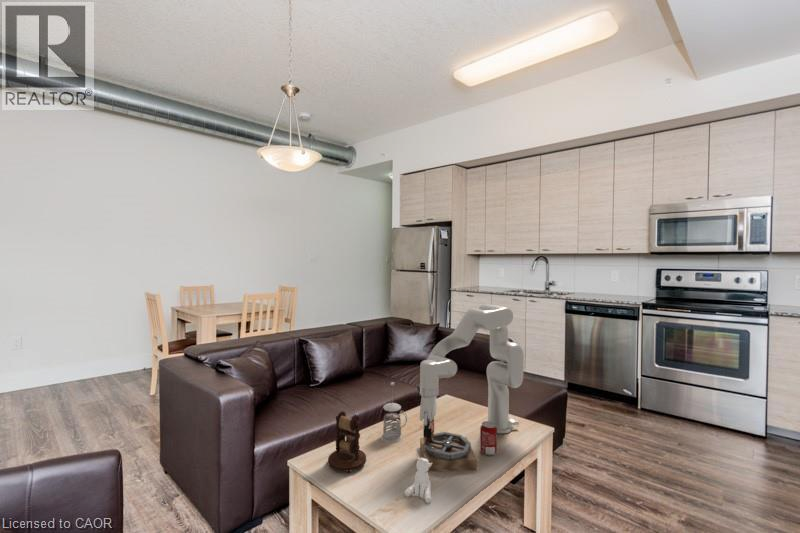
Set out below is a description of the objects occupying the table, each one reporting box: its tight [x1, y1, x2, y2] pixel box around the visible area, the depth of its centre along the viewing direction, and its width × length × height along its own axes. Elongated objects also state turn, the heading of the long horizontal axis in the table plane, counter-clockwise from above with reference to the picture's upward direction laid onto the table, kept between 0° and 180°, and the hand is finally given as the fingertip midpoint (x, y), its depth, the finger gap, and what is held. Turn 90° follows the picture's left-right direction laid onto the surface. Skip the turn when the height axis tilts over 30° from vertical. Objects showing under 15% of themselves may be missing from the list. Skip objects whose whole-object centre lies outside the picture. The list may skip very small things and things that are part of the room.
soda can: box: [479, 420, 498, 456], centre depth 158 cm, size 7×7×12 cm
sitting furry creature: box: [403, 457, 432, 504], centre depth 131 cm, size 10×9×12 cm
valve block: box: [419, 436, 478, 472], centre depth 154 cm, size 20×18×4 cm
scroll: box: [327, 411, 367, 474], centre depth 148 cm, size 15×15×20 cm
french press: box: [380, 381, 408, 443], centre depth 170 cm, size 10×12×25 cm
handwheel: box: [423, 421, 472, 459], centre depth 154 cm, size 19×18×9 cm
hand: (428, 434), depth 156 cm, fingers closed on handwheel, 4 cm apart
